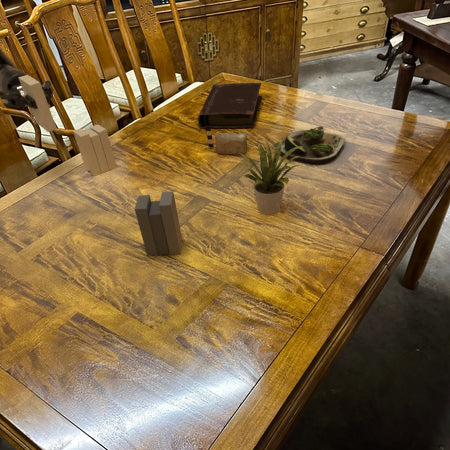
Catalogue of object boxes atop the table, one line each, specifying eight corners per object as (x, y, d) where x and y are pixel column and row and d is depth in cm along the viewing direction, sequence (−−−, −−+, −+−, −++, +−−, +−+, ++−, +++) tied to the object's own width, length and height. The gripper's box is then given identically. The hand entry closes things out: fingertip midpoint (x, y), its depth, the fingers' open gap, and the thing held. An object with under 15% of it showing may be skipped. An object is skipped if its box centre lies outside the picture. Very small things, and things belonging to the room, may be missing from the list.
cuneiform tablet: (209, 147, 125) (249, 146, 123) (206, 157, 122) (247, 156, 120) (205, 126, 119) (247, 125, 117) (203, 136, 116) (245, 135, 114)
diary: (198, 129, 134) (196, 113, 130) (212, 98, 151) (210, 83, 147) (256, 128, 131) (255, 112, 127) (263, 97, 148) (263, 82, 144)
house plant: (316, 207, 99) (323, 141, 87) (278, 235, 93) (279, 167, 81) (271, 187, 107) (271, 124, 95) (232, 211, 100) (228, 147, 89)
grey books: (180, 253, 91) (170, 204, 82) (147, 255, 91) (133, 207, 82) (182, 239, 94) (173, 191, 85) (150, 241, 95) (137, 193, 86)
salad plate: (296, 128, 129) (296, 113, 126) (352, 137, 122) (355, 122, 119) (267, 156, 118) (267, 140, 115) (328, 168, 111) (329, 152, 108)
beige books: (86, 170, 121) (72, 131, 112) (108, 161, 123) (97, 122, 115) (93, 176, 118) (80, 136, 109) (117, 166, 121) (105, 127, 112)
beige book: (57, 129, 105) (40, 82, 97) (48, 132, 104) (30, 85, 96) (45, 120, 109) (27, 74, 101) (36, 122, 108) (18, 77, 100)
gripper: (-17, 77, 105) (5, 95, 95) (36, 62, 110) (62, 77, 100) (-3, 108, 110) (19, 127, 100) (47, 92, 116) (73, 109, 106)
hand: (41, 102), depth 100 cm, fingers closed on beige book, 2 cm apart
